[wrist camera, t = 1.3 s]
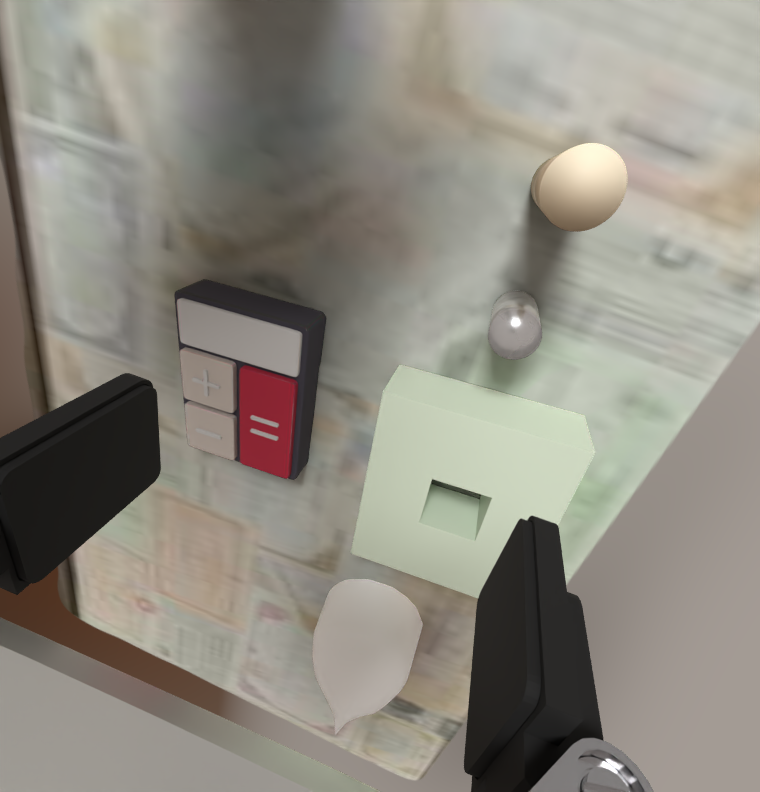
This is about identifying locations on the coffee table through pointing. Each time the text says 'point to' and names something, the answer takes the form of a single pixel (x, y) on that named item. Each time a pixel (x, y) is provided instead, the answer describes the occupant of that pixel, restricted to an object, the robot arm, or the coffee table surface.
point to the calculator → (249, 375)
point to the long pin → (580, 186)
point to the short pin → (515, 325)
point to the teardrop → (364, 647)
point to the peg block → (462, 476)
